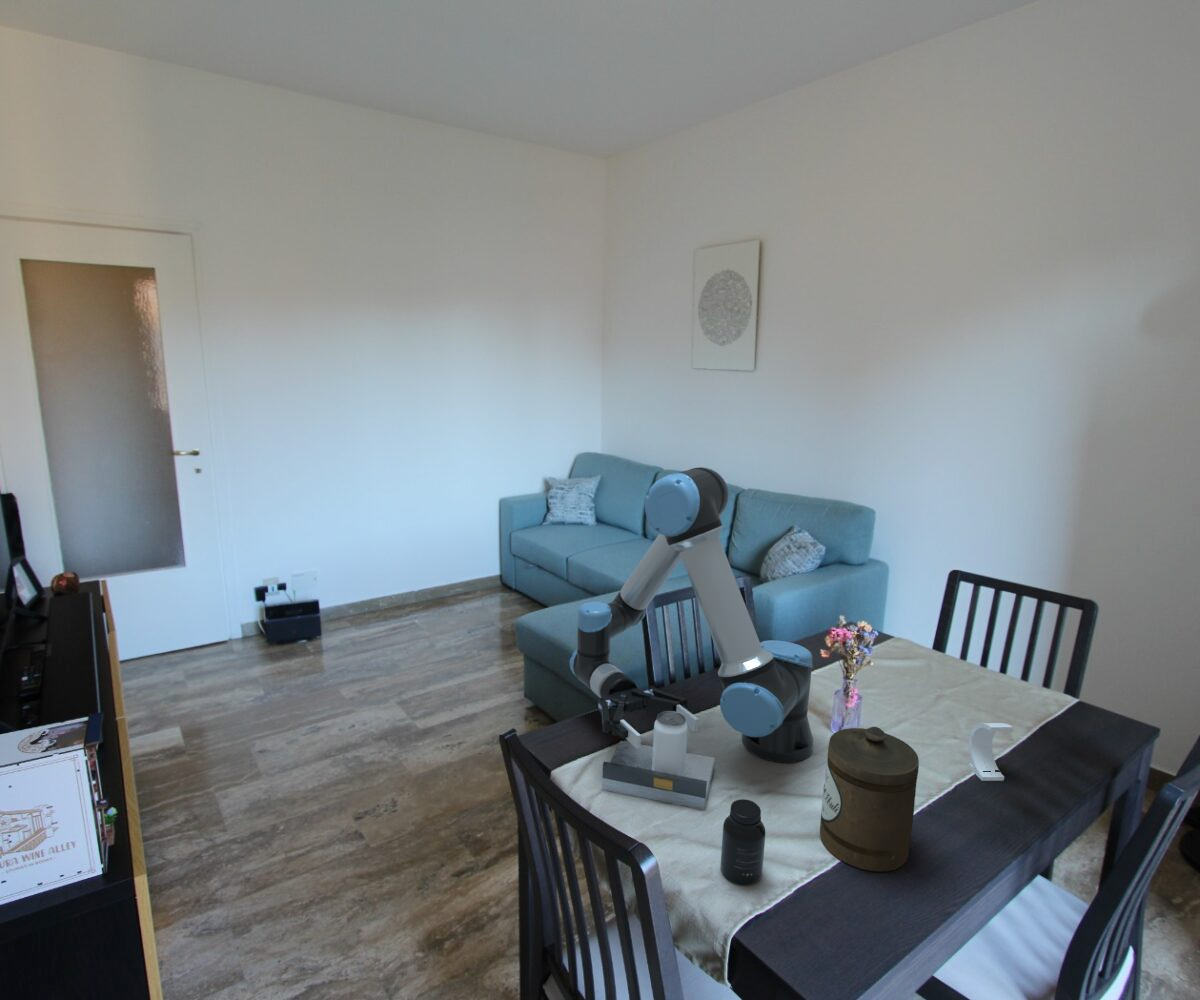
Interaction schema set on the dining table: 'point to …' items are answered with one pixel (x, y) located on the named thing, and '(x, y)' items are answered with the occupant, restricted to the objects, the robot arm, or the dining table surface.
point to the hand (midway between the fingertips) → (668, 733)
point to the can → (670, 743)
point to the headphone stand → (985, 750)
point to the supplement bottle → (743, 843)
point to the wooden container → (869, 798)
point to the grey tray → (657, 777)
